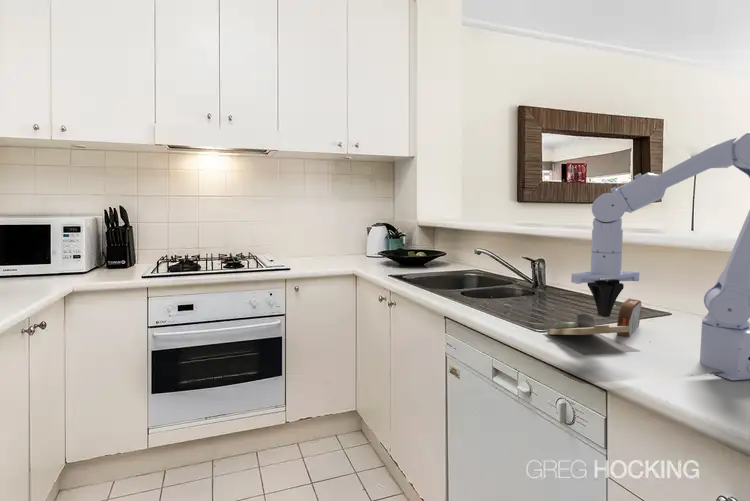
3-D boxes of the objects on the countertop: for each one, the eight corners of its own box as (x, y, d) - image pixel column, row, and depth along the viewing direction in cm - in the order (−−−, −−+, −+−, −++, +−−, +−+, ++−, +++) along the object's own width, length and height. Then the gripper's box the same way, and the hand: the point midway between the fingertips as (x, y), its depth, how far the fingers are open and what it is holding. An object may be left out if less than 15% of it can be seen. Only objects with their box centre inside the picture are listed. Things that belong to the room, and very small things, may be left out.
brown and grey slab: (628, 327, 120) (629, 295, 119) (642, 329, 118) (643, 296, 117) (614, 340, 108) (616, 305, 107) (630, 343, 106) (631, 307, 105)
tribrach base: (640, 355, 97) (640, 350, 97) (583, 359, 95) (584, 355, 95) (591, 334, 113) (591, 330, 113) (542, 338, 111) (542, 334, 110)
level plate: (546, 334, 110) (544, 316, 111) (589, 331, 112) (587, 314, 113) (582, 334, 97) (579, 314, 97) (630, 331, 98) (627, 311, 99)
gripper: (623, 249, 102) (621, 310, 103) (563, 251, 100) (561, 313, 101) (648, 252, 95) (644, 317, 96) (584, 254, 93) (581, 321, 94)
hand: (603, 315), depth 98 cm, fingers closed
